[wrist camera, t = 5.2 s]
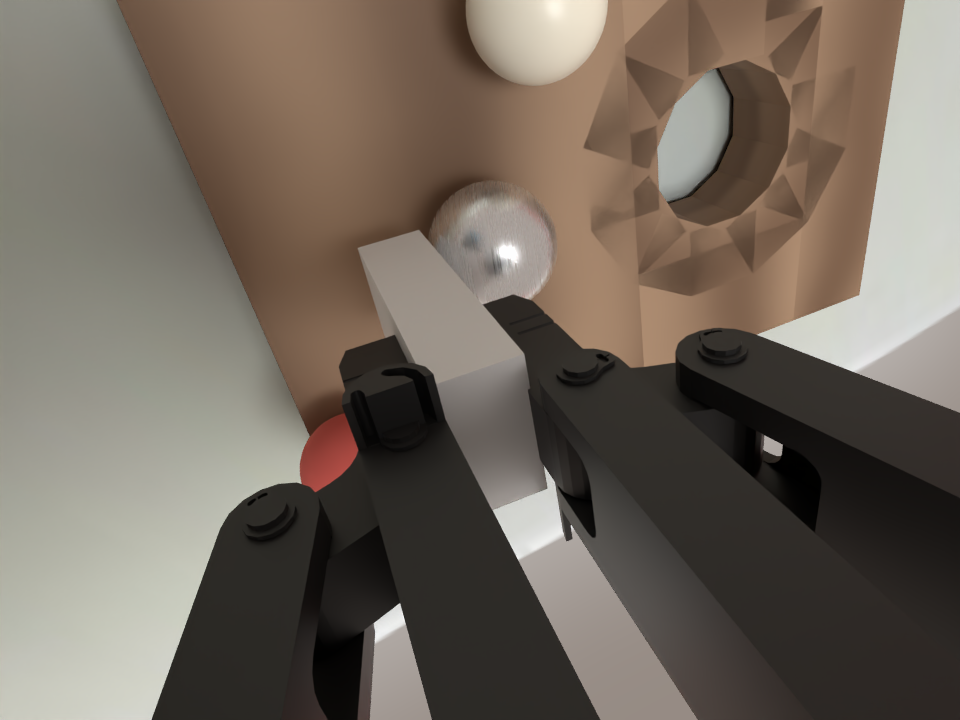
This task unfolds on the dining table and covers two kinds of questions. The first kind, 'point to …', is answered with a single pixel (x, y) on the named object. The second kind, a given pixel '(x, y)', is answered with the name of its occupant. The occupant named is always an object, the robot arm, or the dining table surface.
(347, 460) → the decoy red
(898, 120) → the dining table surface
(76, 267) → the dining table surface
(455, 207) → the steel ball
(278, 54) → the board
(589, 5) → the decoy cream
